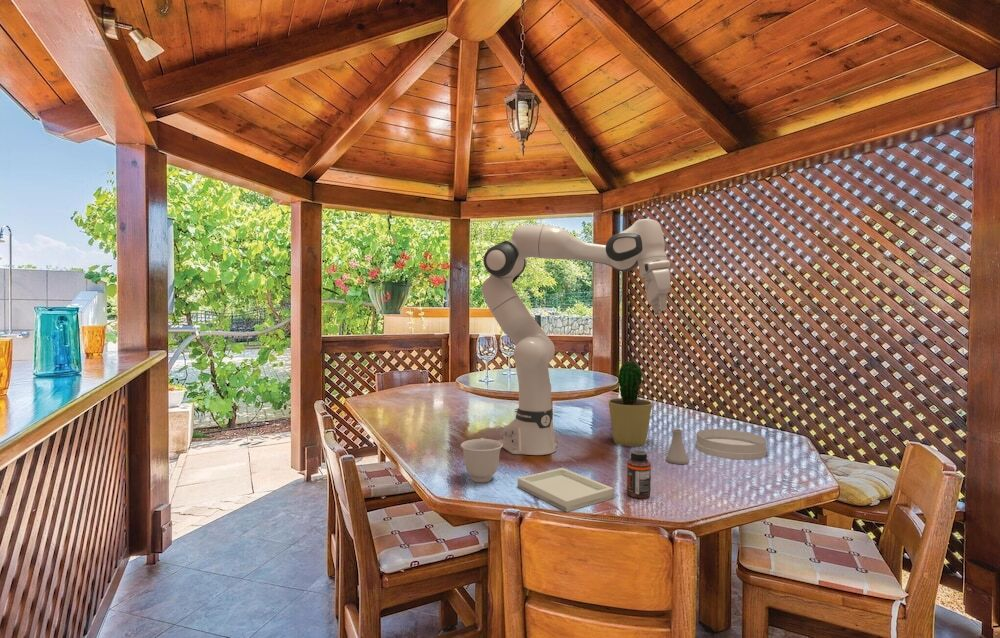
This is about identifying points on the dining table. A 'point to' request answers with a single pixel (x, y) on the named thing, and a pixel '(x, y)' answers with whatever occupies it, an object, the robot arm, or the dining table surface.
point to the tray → (565, 489)
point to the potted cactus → (630, 408)
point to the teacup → (481, 458)
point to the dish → (731, 444)
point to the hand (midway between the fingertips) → (660, 312)
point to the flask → (677, 449)
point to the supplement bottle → (638, 475)
